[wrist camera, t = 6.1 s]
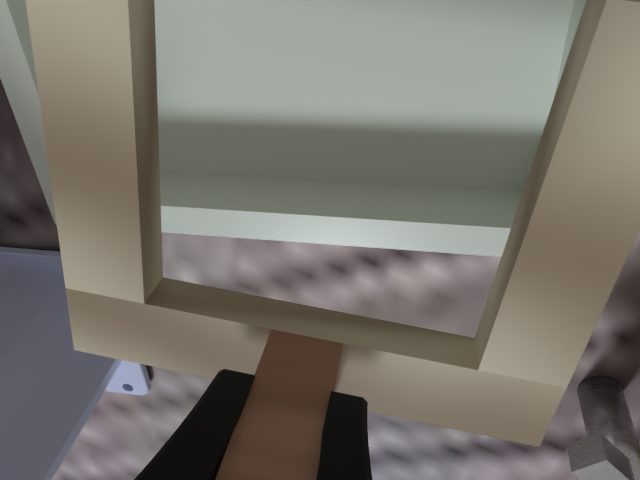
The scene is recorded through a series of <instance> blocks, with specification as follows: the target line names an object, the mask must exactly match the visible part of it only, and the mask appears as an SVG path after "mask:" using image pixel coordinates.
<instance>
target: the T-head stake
mask: <svg viewBox="0 0 640 480" xmlns="http://www.w3.org/2000/svg"><path fill="white" fill-rule="evenodd" d="M577 394H578V398H579V403H580V407H581V411H582V416H583V420H584V425H585V429H586V434H587V438H584V439H581V440H579V441H576V442H573V443H571V444H568V445H567V450H568V455H569V461H570V466H571V471H572V473H573V474H575V475H576V476H577V477H578V478H579V479H580V480H640V445H639V442H638V439H637V435H636V432H635V429H634V425H633V422H632V419H631V416H630V412H629V409H628V406H627V403H626V399H625V396H624V393H623V389H622V386H621V385H620V383H619V382H617V381H616V380H614V379H611V378H607V377H595V378H590V379H588V380H586V381H584V382H582V383H581V384H580V385H579V387H578V389H577Z"/></svg>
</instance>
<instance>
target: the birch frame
mask: <svg viewBox="0 0 640 480" xmlns="http://www.w3.org/2000/svg"><path fill="white" fill-rule="evenodd" d="M26 7H27V14H28V22H29V29H30V36H31V43H32V50H33V58H34V65H35V72H36V79H37V86H38V94H39V101H40V108H41V115H42V122H43V130H44V137H45V144H46V151H47V158H48V166H49V173H50V180H51V187H52V195H53V202H54V209H55V216H56V223H57V231H58V238H59V245H60V252H61V259H62V267H63V274H64V281H65V288H66V295H67V303H68V310H69V317H70V324H71V331H72V339H73V346H74V350H76V351H81V352H86V353H91V354H96V355H100V356H105V357H110V358H115V359H120V360H124V361H129V362H134V363H139V364H144V365H148V366H153V367H158V368H163V369H168V370H173V371H177V372H182V373H187V374H192V375H197V376H201V377H206V378H211V379H214V378H215V376H216V375H217V373H218V372H219V371H221V370H223V369H228V370H233V371H238V372H243V373H247V374H252V375H255V378H254V381H253V384H252V386H251V389H250V392H249V394H248V397H247V400H246V403H245V405H244V408H243V411H242V413H241V416H240V419H239V421H238V423H237V425H236V427H235V429H234V431H233V434H232V436H231V439H230V442H229V444H228V447H227V450H226V452H225V455H224V458H223V460H222V463H221V466H220V468H219V471H218V474H217V476H216V479H215V480H316V479H317V474H318V468H319V461H320V450H321V439H322V432H323V426H324V421H325V417H326V412H327V407H328V402H329V398H330V393H331V391H335V392H339V393H344V394H349V395H354V396H359V397H363V398H364V399H365V400H366V401H367V402H368V407H367V411H370V412H374V413H379V414H384V415H389V416H394V417H398V418H403V419H408V420H413V421H418V422H422V423H427V424H432V425H437V426H442V427H446V428H451V429H456V430H461V431H466V432H471V433H475V434H480V435H485V436H490V437H495V438H499V439H504V440H509V441H514V442H519V443H523V444H528V445H533V446H538V447H540V444H541V442H542V440H543V438H544V436H545V434H546V432H547V429H548V427H549V425H550V423H551V421H552V419H553V416H554V414H555V412H556V410H557V408H558V406H559V404H560V401H561V399H562V397H563V395H564V393H565V391H566V388H567V386H568V384H569V382H570V380H571V378H572V376H573V373H574V371H575V369H576V367H577V365H578V363H579V361H580V358H581V356H582V354H583V352H584V350H585V348H586V345H587V343H588V341H589V339H590V337H591V335H592V333H593V330H594V328H595V326H596V324H597V322H598V320H599V317H600V315H601V313H602V311H603V309H604V307H605V305H606V302H607V300H608V298H609V296H610V294H611V292H612V289H613V287H614V285H615V283H616V281H617V279H618V277H619V274H620V272H621V270H622V268H623V266H624V264H625V262H626V259H627V257H628V255H629V253H630V251H631V249H632V246H633V244H634V242H635V240H636V238H637V236H638V234H639V231H640V0H586V3H585V6H584V9H583V12H582V15H581V18H580V21H579V24H578V27H577V30H576V34H575V37H574V40H573V43H572V46H571V49H570V52H569V55H568V58H567V61H566V64H565V67H564V70H563V73H562V76H561V79H560V82H559V85H558V88H557V91H556V94H555V97H554V100H553V103H552V106H551V109H550V112H549V115H548V118H547V121H546V124H545V127H544V130H543V133H542V136H541V139H540V142H539V145H538V148H537V152H536V155H535V158H534V161H533V164H532V167H531V170H530V173H529V176H528V179H527V182H526V185H525V188H524V191H523V194H522V197H521V200H520V203H519V206H518V209H517V212H516V215H515V218H514V221H513V224H512V227H511V230H510V233H509V236H508V239H507V242H506V245H505V248H504V251H503V254H502V257H501V260H500V263H499V267H498V270H497V273H496V276H495V279H494V282H493V285H492V288H491V291H490V294H489V297H488V300H487V303H486V306H485V309H484V312H483V315H482V318H481V321H480V324H479V327H478V330H477V333H476V336H475V338H471V337H466V336H460V335H455V334H450V333H445V332H440V331H435V330H430V329H425V328H419V327H414V326H409V325H404V324H399V323H394V322H389V321H383V320H378V319H373V318H368V317H363V316H358V315H353V314H347V313H342V312H337V311H332V310H327V309H322V308H317V307H311V306H306V305H301V304H296V303H291V302H286V301H281V300H276V299H270V298H265V297H260V296H255V295H250V294H245V293H240V292H234V291H229V290H224V289H219V288H214V287H209V286H204V285H198V284H193V283H188V282H183V281H178V280H173V279H168V278H163V264H162V232H161V200H160V168H159V136H158V104H157V72H156V39H155V7H154V0H26Z"/></svg>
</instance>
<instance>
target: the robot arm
mask: <svg viewBox="0 0 640 480" xmlns="http://www.w3.org/2000/svg"><path fill="white" fill-rule="evenodd" d="M254 378H255V375H252V374H247V373H243V372H238V371H233V370H228V369H223V370H221V371H219V372H218V373H217V375H216V376H215V378H214V379H213V381H212V383H211V384H210V385H209V387H208V388H207V390H206V391H205V393H204V394H203V396H202V397H201V398H200V400H199V401H198V403H197V404H196V405H195V407H194V408H193V409H192V411H191V412H190V413H189V415H188V416H187V417H186V418H185V420H184V421H183V422H182V424H181V425H180V426H179V427H178V429H177V430H176V431H175V432H174V434H173V435H172V436H171V437H170V438H169V440H168V441H167V442H166V443H165V444H164V446H163V447H162V448H161V449H160V450H159V452H158V453H157V454H156V455H155V457H154V458H153V459H152V460H151V461H150V463H149V464H148V465H147V466H146V467H145V468H144V469H143V471H142V472H141V473H140V474H139V475H138V476H137V477H136V478H135V479H134V480H215V479H216V476H217V474H218V471H219V468H220V466H221V463H222V460H223V458H224V455H225V452H226V450H227V447H228V444H229V442H230V439H231V436H232V434H233V431H234V429H235V427H236V425H237V423H238V421H239V419H240V416H241V413H242V411H243V408H244V405H245V403H246V400H247V397H248V394H249V392H250V389H251V386H252V384H253V381H254ZM150 388H151V382H150V379H149V376H148V372H147V369H146V366H145V365H144V364H139V363H134V362H129V361H124V360H120V359H115V358H110V357H105V356H100V355H96V354H91V353H86V352H81V351H76V350H74V346H73V339H72V331H71V324H70V317H69V310H68V303H67V295H66V288H65V281H64V274H63V267H62V259H61V252H59V251H46V250H34V249H22V248H9V247H0V480H52V479H53V477H54V475H55V474H56V472H57V470H58V469H59V467H60V465H61V464H62V462H63V460H64V458H65V457H66V455H67V453H68V452H69V450H70V448H71V447H72V445H73V443H74V442H75V440H76V438H77V437H78V435H79V433H80V432H81V430H82V428H83V427H84V425H85V423H86V421H87V420H88V418H89V416H90V415H91V413H92V411H93V410H94V408H95V406H96V405H97V403H98V401H99V400H100V398H101V396H102V395H103V393H104V391H110V392H118V393H126V394H134V395H146V394H148V392H149V390H150ZM367 407H368V402H367V401H366V400H365V399H364V398H363V397H359V396H354V395H349V394H344V393H339V392H335V391H331V393H330V398H329V402H328V407H327V412H326V417H325V421H324V426H323V432H322V439H321V450H320V461H319V468H318V474H317V479H316V480H372V475H371V466H370V457H369V447H368V432H367Z"/></svg>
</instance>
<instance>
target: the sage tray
mask: <svg viewBox="0 0 640 480" xmlns="http://www.w3.org/2000/svg"><path fill="white" fill-rule="evenodd" d="M585 3H586V0H154V7H155V39H156V72H157V104H158V136H159V168H160V200H161V232H166V233H180V234H194V235H208V236H221V237H235V238H249V239H263V240H277V241H290V242H304V243H318V244H332V245H345V246H359V247H373V248H387V249H401V250H414V251H428V252H442V253H456V254H469V255H483V256H497V257H502V254H503V251H504V248H505V245H506V242H507V239H508V236H509V233H510V230H511V227H512V224H513V221H514V218H515V215H516V212H517V209H518V206H519V203H520V200H521V197H522V194H523V191H524V188H525V185H526V182H527V179H528V176H529V173H530V170H531V167H532V164H533V161H534V158H535V155H536V152H537V148H538V145H539V142H540V139H541V136H542V133H543V130H544V127H545V124H546V121H547V118H548V115H549V112H550V109H551V106H552V103H553V100H554V97H555V94H556V91H557V88H558V85H559V82H560V79H561V76H562V73H563V70H564V67H565V64H566V61H567V58H568V55H569V52H570V49H571V46H572V43H573V40H574V37H575V34H576V30H577V27H578V24H579V21H580V18H581V15H582V12H583V9H584V6H585ZM0 79H1V82H2V84H3V87H4V90H5V92H6V95H7V98H8V100H9V103H10V106H11V108H12V111H13V114H14V116H15V119H16V122H17V124H18V127H19V130H20V132H21V135H22V138H23V140H24V143H25V146H26V148H27V151H28V154H29V156H30V159H31V162H32V164H33V167H34V170H35V172H36V175H37V178H38V180H39V183H40V186H41V188H42V191H43V194H44V196H45V199H46V202H47V204H48V207H49V210H50V212H51V215H52V218H53V220H54V223H55V224H56V225H57V223H56V216H55V209H54V202H53V195H52V187H51V180H50V173H49V166H48V158H47V151H46V144H45V137H44V130H43V122H42V115H41V108H40V101H39V94H38V86H37V79H36V72H35V65H34V58H33V50H32V43H31V36H30V29H29V22H28V14H27V7H26V0H0Z"/></svg>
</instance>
